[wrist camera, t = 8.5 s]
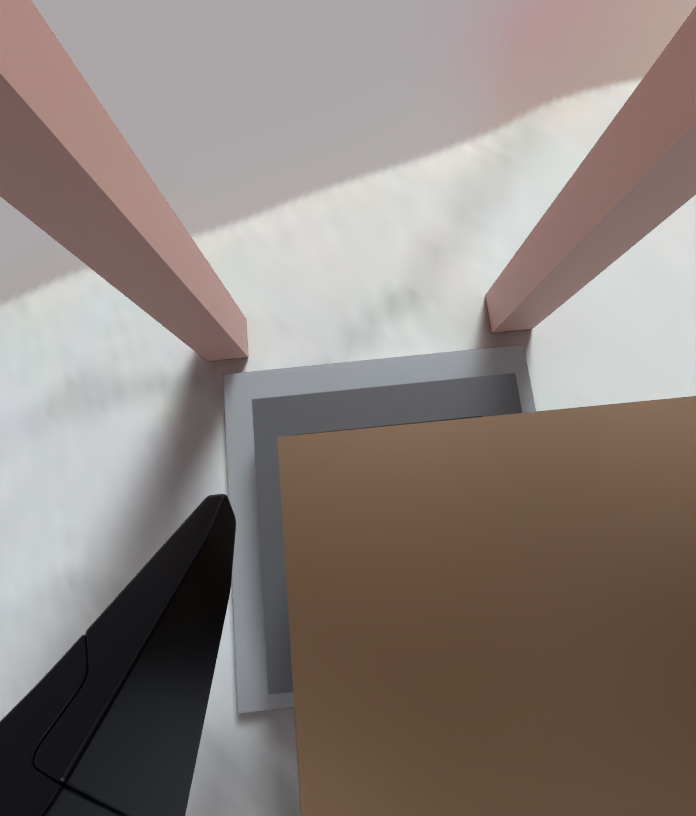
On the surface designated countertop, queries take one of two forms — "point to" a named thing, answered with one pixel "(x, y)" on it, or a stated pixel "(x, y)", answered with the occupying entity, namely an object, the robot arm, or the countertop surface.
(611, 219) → the pink arch frame
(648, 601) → the walnut peg
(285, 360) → the countertop surface
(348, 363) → the socket
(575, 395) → the countertop surface
